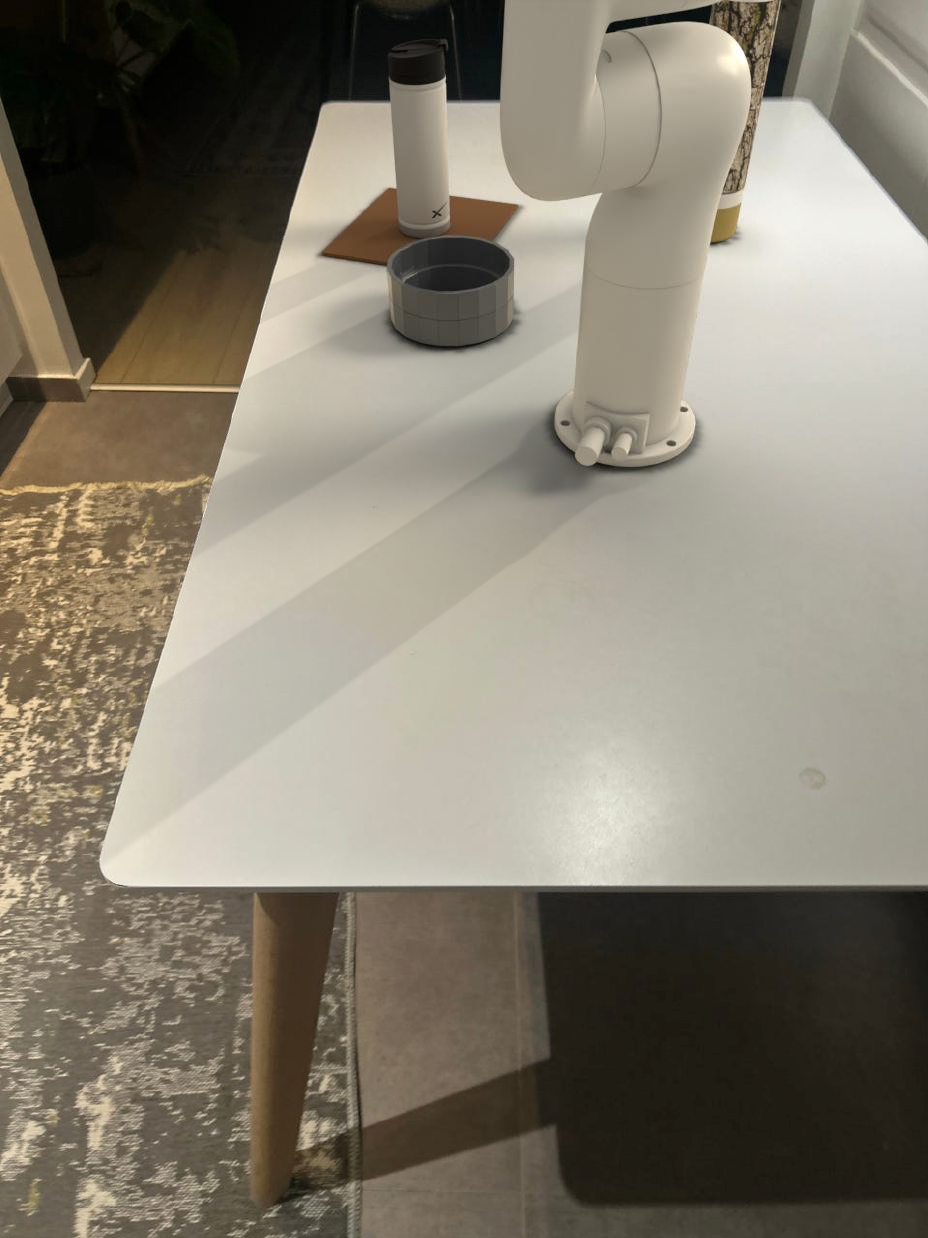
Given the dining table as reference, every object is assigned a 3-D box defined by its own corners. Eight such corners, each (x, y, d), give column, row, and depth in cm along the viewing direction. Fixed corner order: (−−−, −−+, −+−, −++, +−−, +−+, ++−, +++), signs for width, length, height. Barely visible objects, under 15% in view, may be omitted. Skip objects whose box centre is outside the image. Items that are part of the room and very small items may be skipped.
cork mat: (464, 277, 105) (464, 273, 104) (321, 255, 109) (321, 251, 109) (518, 207, 118) (518, 204, 117) (389, 190, 122) (388, 187, 122)
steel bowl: (489, 357, 93) (489, 301, 88) (372, 336, 96) (366, 281, 92) (528, 298, 101) (530, 244, 97) (419, 281, 104) (416, 228, 100)
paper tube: (719, 249, 108) (766, -1, 90) (668, 235, 111) (703, -10, 93) (745, 229, 112) (794, -16, 94) (694, 215, 115) (733, -24, 97)
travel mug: (452, 238, 111) (446, 49, 96) (397, 239, 111) (384, 50, 96) (453, 216, 115) (448, 32, 101) (400, 217, 115) (388, 33, 101)
